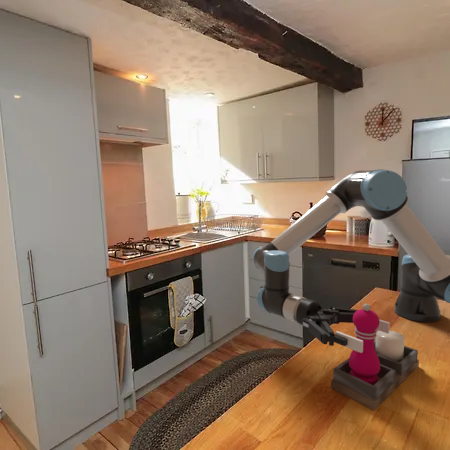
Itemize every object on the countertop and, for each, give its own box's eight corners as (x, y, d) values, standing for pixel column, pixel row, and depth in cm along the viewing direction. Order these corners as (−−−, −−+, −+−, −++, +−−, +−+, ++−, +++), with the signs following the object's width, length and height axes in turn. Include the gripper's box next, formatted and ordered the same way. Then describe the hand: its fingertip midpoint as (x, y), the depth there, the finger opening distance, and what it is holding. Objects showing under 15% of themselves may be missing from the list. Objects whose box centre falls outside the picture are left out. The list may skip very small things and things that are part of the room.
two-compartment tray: (378, 351, 100) (379, 335, 99) (418, 366, 91) (419, 349, 91) (330, 387, 83) (331, 369, 82) (373, 410, 75) (374, 390, 74)
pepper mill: (383, 391, 78) (386, 310, 75) (350, 387, 80) (353, 309, 77) (375, 373, 85) (378, 299, 82) (346, 370, 87) (348, 297, 84)
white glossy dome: (383, 350, 96) (384, 327, 95) (408, 361, 90) (409, 337, 90) (369, 358, 92) (370, 334, 91) (394, 369, 87) (395, 344, 86)
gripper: (326, 311, 103) (397, 334, 87) (273, 337, 87) (348, 372, 71) (327, 288, 102) (399, 307, 86) (273, 310, 86) (349, 339, 70)
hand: (376, 337), depth 79 cm, fingers open, 13 cm apart
